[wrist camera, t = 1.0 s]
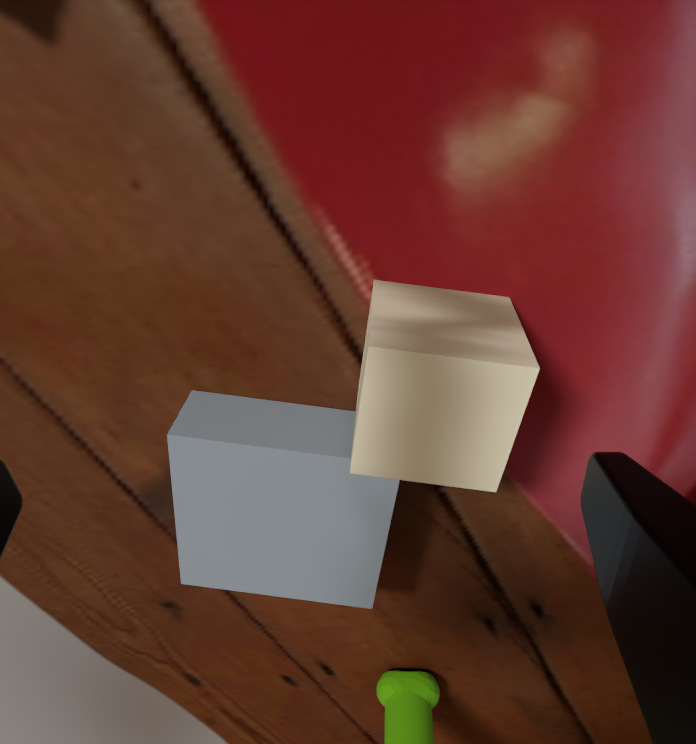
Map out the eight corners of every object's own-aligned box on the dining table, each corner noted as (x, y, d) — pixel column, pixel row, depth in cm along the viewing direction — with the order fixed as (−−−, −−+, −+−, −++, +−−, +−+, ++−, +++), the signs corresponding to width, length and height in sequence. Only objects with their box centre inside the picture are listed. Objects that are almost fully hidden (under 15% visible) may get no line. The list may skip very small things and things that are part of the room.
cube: (509, 296, 20) (539, 368, 16) (477, 405, 23) (495, 492, 18) (373, 279, 20) (368, 346, 16) (358, 390, 23) (349, 473, 18)
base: (401, 417, 23) (402, 465, 20) (374, 556, 28) (371, 608, 25) (192, 390, 23) (167, 434, 21) (200, 533, 28) (181, 583, 25)
